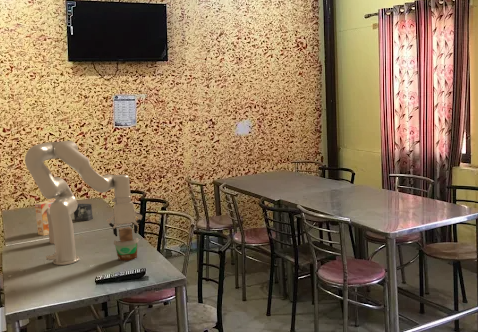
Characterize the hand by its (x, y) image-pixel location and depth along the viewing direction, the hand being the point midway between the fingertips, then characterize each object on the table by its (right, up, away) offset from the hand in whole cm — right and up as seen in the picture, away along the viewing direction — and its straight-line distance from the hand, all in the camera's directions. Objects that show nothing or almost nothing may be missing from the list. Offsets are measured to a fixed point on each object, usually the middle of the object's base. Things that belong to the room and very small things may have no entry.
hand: (125, 234), depth 263 cm
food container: (+1, -13, +2) cm, 13 cm away
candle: (-46, -10, +41) cm, 62 cm away
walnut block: (0, -3, 0) cm, 3 cm away
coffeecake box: (-60, -8, +66) cm, 90 cm away
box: (-49, -3, +98) cm, 109 cm away
